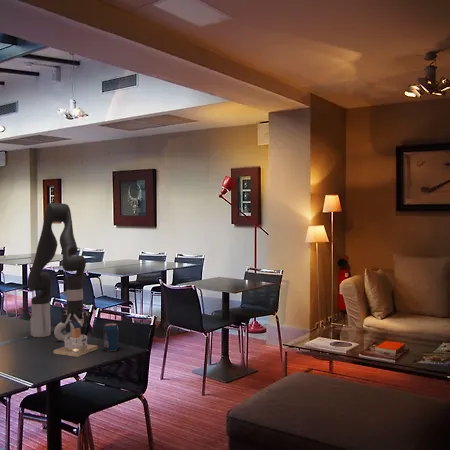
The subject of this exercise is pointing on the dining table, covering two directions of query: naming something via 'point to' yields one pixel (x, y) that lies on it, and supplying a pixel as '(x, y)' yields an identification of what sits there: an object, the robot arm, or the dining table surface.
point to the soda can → (110, 337)
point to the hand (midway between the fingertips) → (75, 333)
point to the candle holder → (75, 347)
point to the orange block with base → (76, 334)
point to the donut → (58, 331)
